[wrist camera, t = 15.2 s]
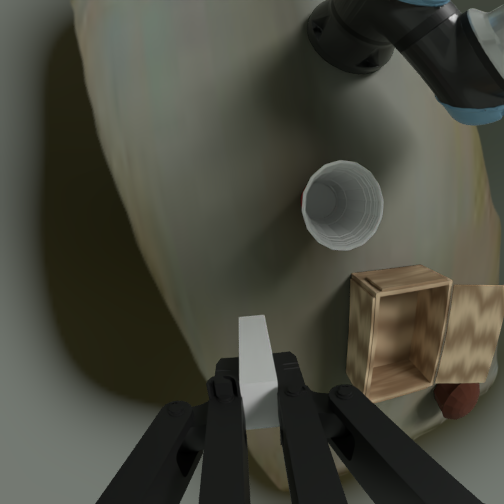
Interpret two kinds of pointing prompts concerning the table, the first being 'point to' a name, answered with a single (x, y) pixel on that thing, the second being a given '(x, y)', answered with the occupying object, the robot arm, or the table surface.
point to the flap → (471, 333)
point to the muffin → (456, 398)
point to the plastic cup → (342, 205)
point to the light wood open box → (396, 330)
